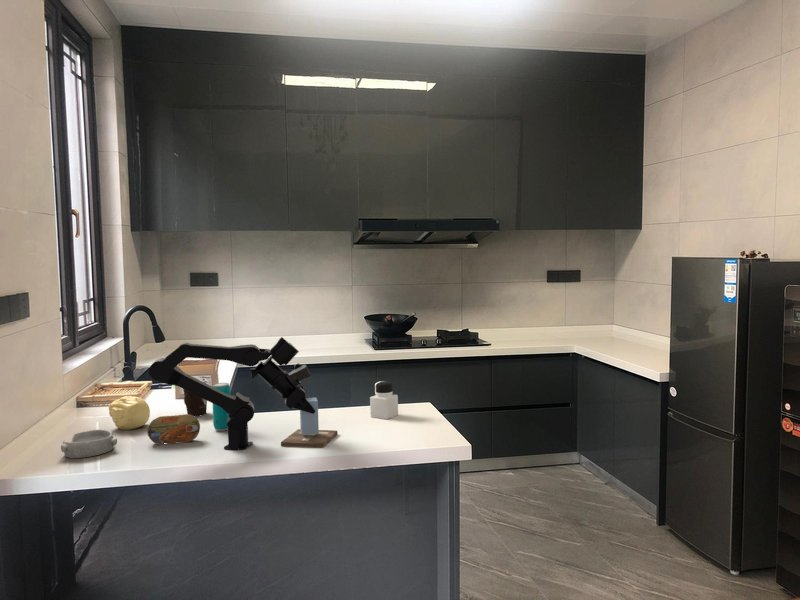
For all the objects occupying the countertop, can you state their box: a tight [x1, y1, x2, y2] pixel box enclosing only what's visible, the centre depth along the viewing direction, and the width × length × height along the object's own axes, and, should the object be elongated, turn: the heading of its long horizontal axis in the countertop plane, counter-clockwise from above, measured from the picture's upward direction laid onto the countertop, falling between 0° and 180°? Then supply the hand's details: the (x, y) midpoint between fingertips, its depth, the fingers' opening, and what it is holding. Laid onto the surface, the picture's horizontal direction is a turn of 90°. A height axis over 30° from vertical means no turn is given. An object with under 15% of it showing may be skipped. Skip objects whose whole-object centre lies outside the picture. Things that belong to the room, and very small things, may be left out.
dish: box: [60, 429, 118, 459], centre depth 181 cm, size 14×14×5 cm
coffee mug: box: [182, 388, 208, 417], centre depth 222 cm, size 12×9×10 cm
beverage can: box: [212, 382, 231, 432], centre depth 201 cm, size 6×6×15 cm
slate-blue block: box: [299, 397, 320, 435], centre depth 187 cm, size 5×5×10 cm
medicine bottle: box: [369, 380, 399, 420], centre depth 214 cm, size 7×7×12 cm
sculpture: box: [108, 395, 151, 431], centre depth 207 cm, size 11×12×11 cm
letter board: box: [280, 428, 338, 449], centre depth 187 cm, size 14×13×1 cm
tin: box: [147, 413, 201, 445], centre depth 188 cm, size 15×3×8 cm, turn 101°
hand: (313, 410), depth 187 cm, fingers closed on slate-blue block, 5 cm apart
